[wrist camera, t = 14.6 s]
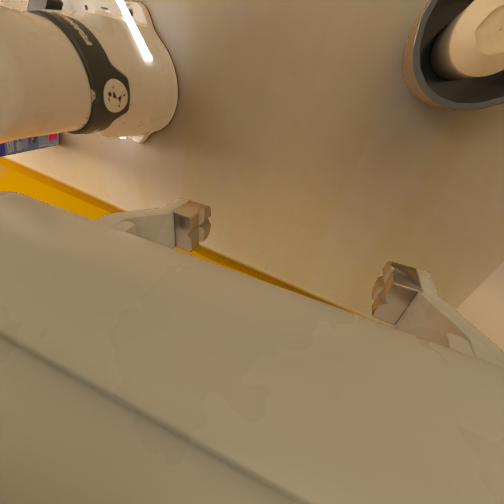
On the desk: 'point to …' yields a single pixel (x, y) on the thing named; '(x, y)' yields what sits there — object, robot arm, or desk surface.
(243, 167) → the desk surface
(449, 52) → the candle
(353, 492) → the robot arm
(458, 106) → the pen holder
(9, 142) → the ink cartridge box
